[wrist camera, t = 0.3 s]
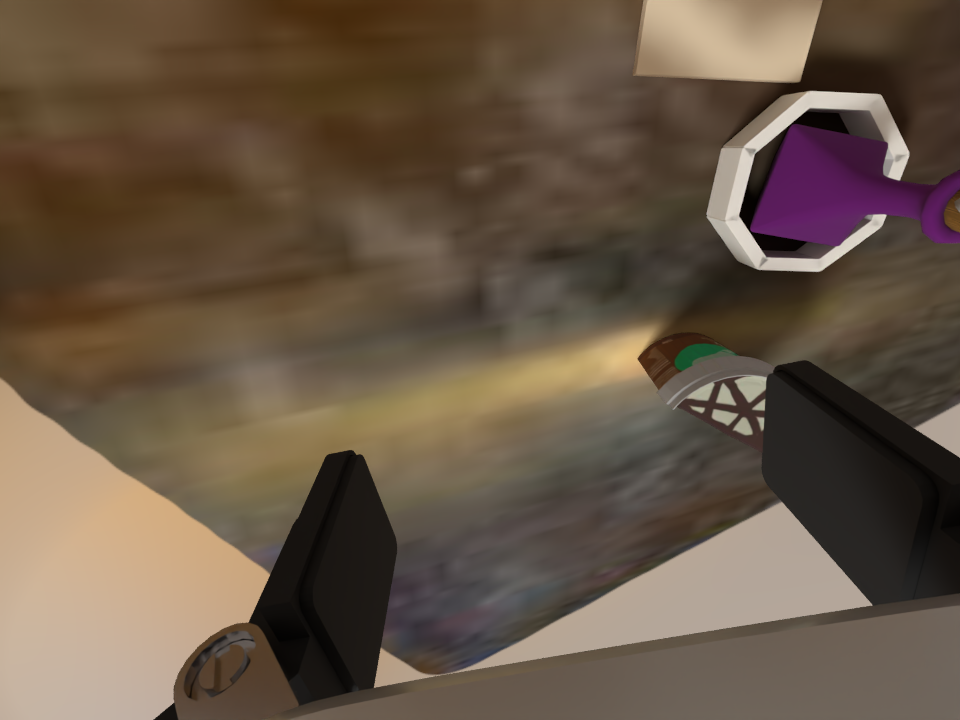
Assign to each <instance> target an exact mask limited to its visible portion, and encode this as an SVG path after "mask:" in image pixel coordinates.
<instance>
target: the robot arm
mask: <svg viewBox="0 0 960 720" xmlns="http://www.w3.org/2000/svg"><path fill="white" fill-rule="evenodd" d="M762 474H763V477H764V480H765V482H766V483H767V485H768V486H769V487H770V488H771V490H772V491H773V492H774V493H775V494H776V495H777V496H778V498H779V499H780V500H781V501H782V502H783V503H784V504H785V506H786V507H787V508H788V509H789V510H790V511H791V512H792V513H793V514H794V516H795V517H796V518H797V519H798V520H799V521H800V523H801V524H802V525H803V526H804V527H805V528H806V529H807V531H808V532H809V533H810V534H811V535H812V536H813V537H814V538H815V540H816V541H817V542H818V543H819V544H820V545H821V547H822V548H823V549H824V550H825V551H826V552H827V553H828V554H829V556H830V557H831V558H832V559H833V560H834V561H835V562H836V564H837V565H838V566H839V567H840V568H841V569H842V570H843V571H844V572H845V574H846V575H847V576H848V577H849V578H850V579H851V580H852V582H853V583H854V584H855V585H856V586H857V587H858V589H859V590H860V591H861V592H862V593H863V594H864V595H865V597H866V598H867V599H868V600H869V601H870V602H871V603H872V605H873V606H867V607H860V608H854V609H848V610H841V611H835V612H829V613H822V614H816V615H809V616H803V617H796V618H790V619H784V620H778V621H771V622H764V623H758V624H752V625H746V626H739V627H732V628H726V629H720V630H714V631H708V632H702V633H695V634H689V635H683V636H677V637H671V638H664V639H658V640H652V641H646V642H640V643H634V644H627V645H621V646H615V647H609V648H603V649H597V650H591V651H584V652H578V653H573V654H566V655H560V656H554V657H548V658H542V659H537V660H530V661H525V662H518V663H513V664H506V665H501V666H495V667H489V668H483V669H477V670H471V671H465V672H459V673H453V674H447V675H441V676H435V677H430V678H425V679H419V680H414V681H409V682H403V683H398V684H393V685H387V686H382V687H376V688H374V683H375V677H376V671H377V665H378V660H379V654H380V648H381V642H382V636H383V631H384V625H385V619H386V613H387V607H388V601H389V595H390V590H391V584H392V578H393V572H394V566H395V560H396V554H397V542H396V537H395V534H394V532H393V529H392V527H391V524H390V522H389V519H388V517H387V514H386V512H385V509H384V507H383V504H382V502H381V499H380V497H379V494H378V492H377V489H376V487H375V484H374V482H373V479H372V476H371V474H370V471H369V469H368V466H367V464H366V461H365V459H364V457H363V456H362V455H361V454H359V455H356V454H355V452H354V451H352V450H348V451H343V452H338V453H333V454H329V455H327V456H326V457H325V459H324V462H323V464H322V466H321V468H320V471H319V473H318V475H317V477H316V480H315V482H314V484H313V486H312V488H311V491H310V493H309V495H308V497H307V500H306V502H305V504H304V506H303V508H302V511H301V513H300V515H299V517H298V519H296V521H295V523H294V524H293V526H292V528H291V530H290V533H289V535H288V537H287V539H286V541H285V544H284V546H283V548H282V550H281V552H280V555H279V557H278V559H277V561H276V563H275V566H274V568H273V570H272V572H271V574H270V577H269V579H268V581H267V584H266V585H265V588H264V590H263V592H262V594H261V596H260V599H259V601H258V603H257V605H256V607H255V610H254V612H253V614H252V616H251V619H250V621H249V623H239V624H234V625H232V626H229V627H227V628H224V629H222V630H220V631H219V632H217V633H216V634H214V635H212V636H210V637H209V638H208V639H207V640H206V641H205V642H203V643H202V644H201V645H200V646H199V647H198V648H197V649H196V650H195V651H194V652H193V653H192V654H191V656H190V657H189V658H188V659H187V660H186V662H185V664H184V665H183V667H182V668H181V670H180V672H179V673H178V676H177V679H176V682H175V685H174V703H173V704H172V705H171V706H170V707H168V708H167V709H166V710H165V711H164V712H162V713H161V714H160V715H159V716H158V717H156V718H155V719H154V720H960V458H959V457H958V456H956V455H955V454H953V453H952V452H950V451H948V450H947V449H945V448H944V447H942V446H941V445H939V444H937V443H936V442H934V441H933V440H931V439H930V438H928V437H927V436H925V435H923V434H922V433H920V432H919V431H917V430H916V429H914V428H912V427H911V426H909V425H908V424H906V423H905V422H903V421H901V420H900V419H898V418H897V417H895V416H894V415H892V414H891V413H889V412H887V411H886V410H884V409H883V408H881V407H880V406H878V405H876V404H875V403H873V402H872V401H870V400H869V399H867V398H865V397H864V396H862V395H861V394H859V393H858V392H856V391H855V390H853V389H851V388H850V387H848V386H847V385H845V384H844V383H842V382H840V381H839V380H837V379H836V378H834V377H833V376H831V375H829V374H828V373H826V372H825V371H823V370H822V369H820V368H819V367H817V366H815V365H814V364H812V363H811V362H809V361H806V360H804V361H798V362H793V363H788V364H782V365H778V366H776V367H775V368H774V370H773V373H771V374H769V375H768V376H767V379H766V393H765V413H764V432H763V451H762Z"/></svg>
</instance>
